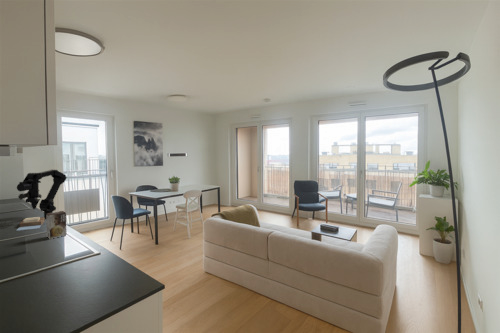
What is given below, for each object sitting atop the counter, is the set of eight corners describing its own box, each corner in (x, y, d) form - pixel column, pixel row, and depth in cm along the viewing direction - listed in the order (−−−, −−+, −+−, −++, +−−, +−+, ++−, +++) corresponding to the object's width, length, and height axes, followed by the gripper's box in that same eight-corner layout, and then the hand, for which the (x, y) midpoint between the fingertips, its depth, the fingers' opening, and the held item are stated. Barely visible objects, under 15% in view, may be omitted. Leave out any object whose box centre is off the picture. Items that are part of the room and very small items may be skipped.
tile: (25, 220, 178) (25, 218, 178) (39, 219, 182) (39, 216, 182) (23, 222, 173) (23, 220, 173) (38, 221, 177) (37, 218, 177)
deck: (24, 222, 182) (24, 219, 182) (44, 221, 188) (44, 217, 188) (19, 227, 171) (19, 223, 171) (41, 225, 177) (41, 221, 177)
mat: (19, 227, 171) (19, 227, 171) (41, 225, 177) (41, 225, 177) (16, 231, 164) (16, 230, 164) (38, 228, 171) (38, 228, 171)
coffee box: (63, 233, 162) (62, 210, 161) (66, 235, 159) (66, 212, 158) (46, 237, 155) (45, 213, 154) (49, 239, 151) (49, 214, 150)
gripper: (22, 187, 186) (23, 207, 187) (15, 191, 170) (16, 213, 171) (41, 187, 192) (41, 206, 193) (36, 190, 176) (36, 211, 177)
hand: (34, 209), depth 183 cm, fingers closed
